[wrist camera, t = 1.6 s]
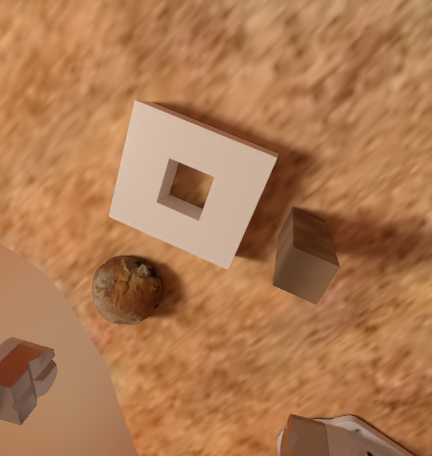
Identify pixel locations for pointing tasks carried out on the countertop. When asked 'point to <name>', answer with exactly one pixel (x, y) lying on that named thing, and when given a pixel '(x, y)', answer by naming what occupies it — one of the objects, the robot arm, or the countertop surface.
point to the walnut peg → (305, 257)
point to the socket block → (200, 160)
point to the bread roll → (126, 290)
